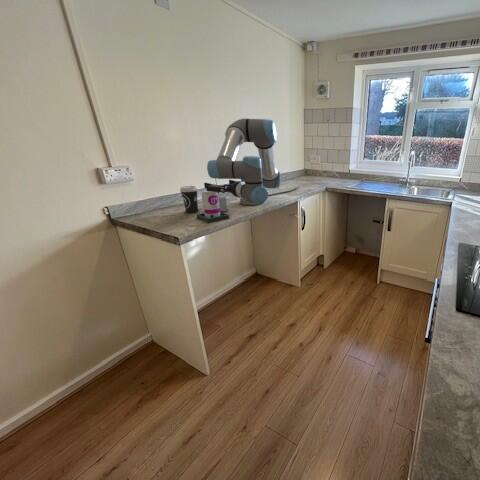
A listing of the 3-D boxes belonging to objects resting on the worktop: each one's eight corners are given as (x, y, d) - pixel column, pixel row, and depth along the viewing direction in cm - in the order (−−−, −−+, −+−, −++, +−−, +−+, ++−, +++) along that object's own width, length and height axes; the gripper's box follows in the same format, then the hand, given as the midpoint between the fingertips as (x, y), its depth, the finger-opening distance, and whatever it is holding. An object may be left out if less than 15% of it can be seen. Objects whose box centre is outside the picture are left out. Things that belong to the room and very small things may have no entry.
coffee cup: (196, 214, 153) (192, 188, 147) (180, 213, 153) (175, 188, 147) (203, 209, 162) (200, 185, 156) (188, 209, 162) (184, 185, 156)
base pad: (217, 213, 155) (217, 210, 154) (229, 218, 147) (228, 214, 146) (196, 218, 146) (196, 214, 145) (208, 223, 138) (207, 219, 137)
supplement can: (223, 217, 146) (220, 191, 141) (208, 220, 141) (204, 192, 135) (216, 214, 151) (213, 188, 146) (202, 216, 146) (198, 190, 140)
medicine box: (227, 209, 164) (225, 196, 161) (227, 211, 160) (225, 197, 157) (213, 210, 161) (212, 196, 158) (213, 212, 158) (212, 198, 154)
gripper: (218, 202, 113) (195, 194, 125) (263, 194, 131) (239, 187, 143) (216, 185, 110) (192, 178, 123) (262, 179, 128) (238, 174, 140)
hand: (217, 183), depth 133 cm, fingers open, 13 cm apart
